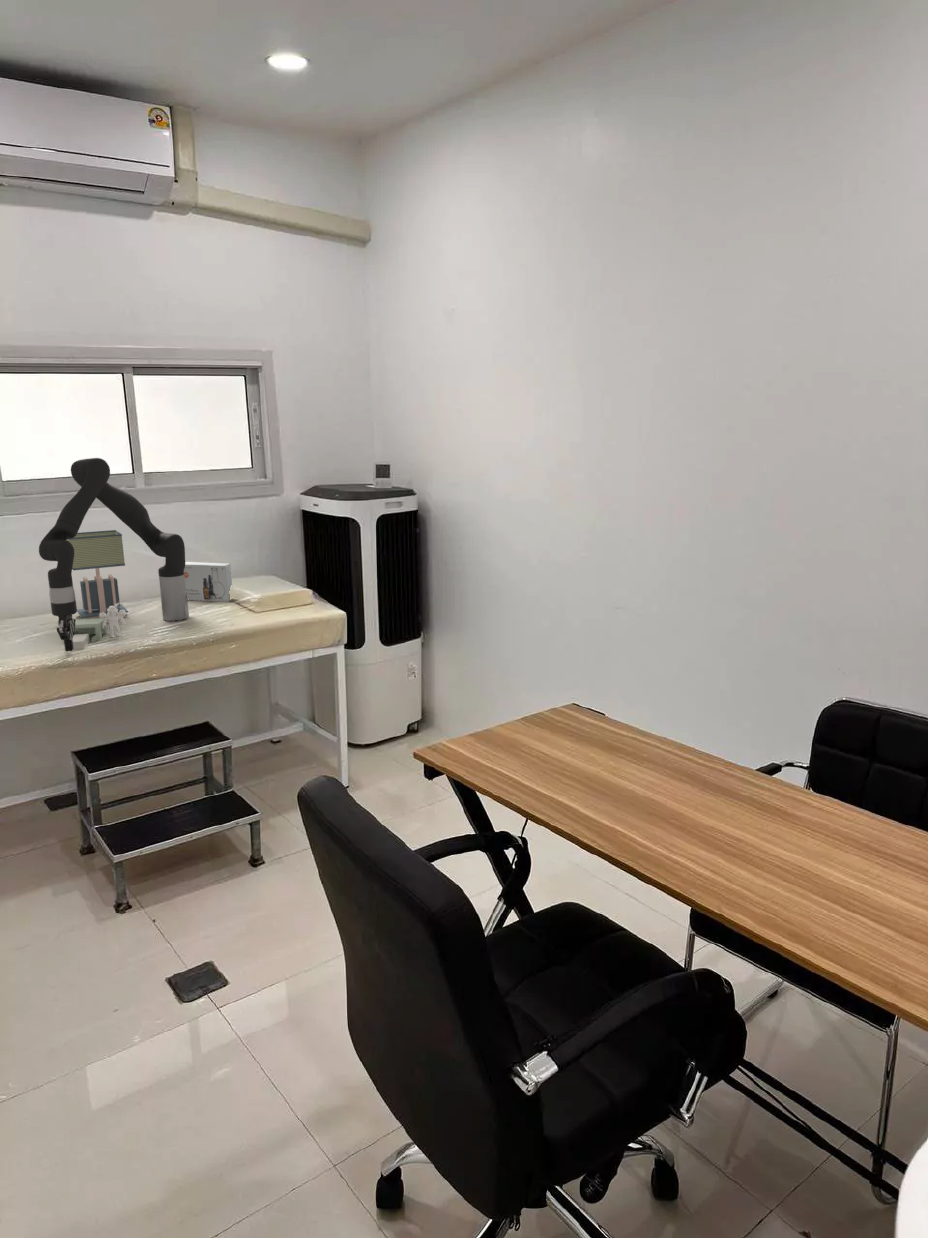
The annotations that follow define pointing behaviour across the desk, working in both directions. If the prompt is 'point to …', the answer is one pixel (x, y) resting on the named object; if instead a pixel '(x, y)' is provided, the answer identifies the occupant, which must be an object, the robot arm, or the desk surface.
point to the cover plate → (80, 641)
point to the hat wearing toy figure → (113, 619)
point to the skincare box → (207, 581)
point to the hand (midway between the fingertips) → (69, 650)
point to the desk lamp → (98, 554)
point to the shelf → (90, 627)
